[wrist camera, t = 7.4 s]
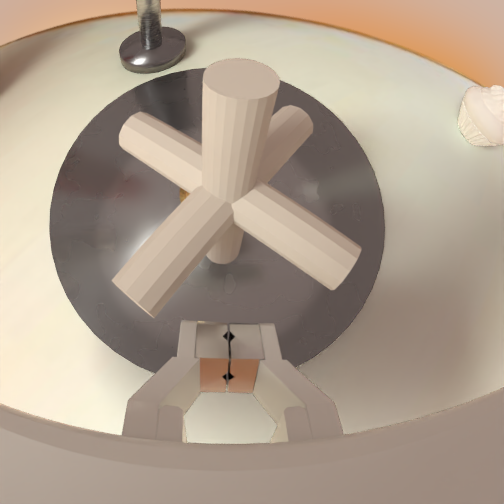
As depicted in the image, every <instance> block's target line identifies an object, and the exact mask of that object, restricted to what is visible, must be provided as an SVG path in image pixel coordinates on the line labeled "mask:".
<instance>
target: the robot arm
mask: <svg viewBox="0 0 504 504" xmlns="http://www.w3.org/2000/svg"><path fill="white" fill-rule="evenodd" d="M227 334H228V340H227ZM226 373H227V377H226ZM226 382H227V389H228V392H234V393H253V395H254V396H255V398H256V399H257V400H258V401H259V403H260V404H261V405H262V407H263V408H264V409H265V410H266V412H267V413H268V414H269V415H270V417H271V418H272V419H273V420H274V421H275V423H276V424H277V428H276V430H275V432H274V435H273V437H272V439H271V441H270V443H253V444H206V443H187V437H186V430H185V421H184V415H185V413H186V412H187V411H188V409H189V408H190V407H191V405H192V404H193V403H194V401H195V400H196V398H197V397H198V396H199V394H200V392H225V391H226ZM0 504H504V387H502V388H500V389H498V390H496V391H493V392H491V393H489V394H486V395H484V396H481V397H479V398H476V399H474V400H471V401H469V402H466V403H463V404H461V405H458V406H455V407H452V408H449V409H446V410H443V411H440V412H437V413H434V414H431V415H427V416H424V417H421V418H417V419H413V420H410V421H406V422H402V423H398V424H394V425H390V426H386V427H381V428H377V429H372V430H367V431H362V432H357V433H351V434H345V435H344V433H343V430H342V426H341V423H340V420H339V416H338V413H337V410H336V406H335V403H334V402H333V401H332V400H331V399H330V398H329V397H327V396H326V395H325V394H324V393H323V392H322V391H321V390H320V389H318V388H317V387H316V386H315V385H314V384H313V383H312V382H311V381H309V380H308V379H307V378H306V377H305V376H304V375H303V374H302V373H301V372H300V371H298V370H297V369H296V368H295V367H294V366H293V365H292V364H291V363H290V362H289V361H287V360H282V356H281V351H280V347H279V342H278V337H277V333H276V328H275V325H274V324H273V323H259V324H258V323H229V325H228V328H227V323H221V322H206V321H189V320H182V322H181V326H180V334H179V343H178V352H177V357H172V358H171V359H170V360H169V361H168V362H167V363H166V364H165V365H164V366H163V367H162V368H161V369H160V370H159V371H157V372H156V373H155V374H154V375H153V376H152V377H151V378H150V379H149V380H148V381H147V382H146V383H145V384H144V385H143V386H142V387H141V388H140V389H139V390H138V391H137V392H136V393H135V394H134V395H133V396H132V397H131V398H130V399H129V400H128V403H127V408H126V414H125V419H124V425H123V431H122V435H116V434H110V433H104V432H99V431H94V430H89V429H85V428H80V427H76V426H72V425H67V424H64V423H60V422H56V421H52V420H49V419H45V418H42V417H38V416H35V415H32V414H29V413H26V412H23V411H20V410H17V409H14V408H11V407H9V406H6V405H3V404H1V403H0Z"/></svg>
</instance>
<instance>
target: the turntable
mask: <svg viewBox="0 0 504 504" xmlns="http://www.w3.org/2000/svg"><path fill="white" fill-rule="evenodd" d="M205 70H206V68H202V69H191V70H186V71H180V72H175V73H171V74H168V75H165V76H161V77H158V78H155V79H153V80H150V81H148V82H146V83H143V84H141V85H139V86H137V87H135V88H133V89H131V90H130V91H128V92H126V93H124V94H123V95H121V96H120V97H118V98H117V99H116V100H114V101H113V102H112V103H110V104H109V105H107V106H106V107H105V108H104V109H103V110H102V111H101V112H100V113H99V114H98V115H96V116H95V117H94V118H93V119H92V120H91V122H90V123H89V124H88V125H87V126H86V127H85V129H84V130H83V131H82V132H81V133H80V135H79V136H78V138H77V139H76V141H75V142H74V144H73V145H72V147H71V148H70V150H69V152H68V154H67V156H66V158H65V160H64V162H63V164H62V166H61V169H60V171H59V174H58V177H57V180H56V184H55V187H54V191H53V196H52V202H51V208H50V230H49V231H50V241H51V250H52V255H53V259H54V263H55V267H56V270H57V274H58V277H59V279H60V281H61V284H62V286H63V288H64V291H65V293H66V295H67V297H68V299H69V300H70V302H71V304H72V305H73V307H74V308H75V310H76V312H77V313H78V315H79V316H80V318H81V319H82V320H83V321H84V322H85V323H86V325H87V326H88V327H89V328H90V329H91V330H92V332H93V333H94V334H95V335H96V336H97V337H98V338H99V339H101V340H102V341H103V342H104V343H105V344H106V345H108V346H109V347H110V348H111V349H112V350H114V351H115V352H116V353H118V354H119V355H121V356H123V357H124V358H126V359H127V360H129V361H131V362H132V363H134V364H136V365H137V366H140V367H142V368H144V369H146V370H149V371H151V372H154V373H156V372H157V371H159V370H160V369H161V368H162V367H163V366H164V365H165V364H166V363H167V362H168V361H169V360H170V359H171V358H172V357H177V352H178V343H179V334H180V326H181V322H182V320H189V321H206V322H221V323H227V328H228V325H229V323H258V324H259V323H273V324H274V325H275V328H276V333H277V337H278V342H279V347H280V351H281V356H282V360H287V361H289V362H290V363H291V364H292V365H293V366H294V367H297V366H298V365H300V364H302V363H304V362H306V361H308V360H309V359H311V358H313V357H314V356H316V355H317V354H318V353H320V352H321V351H322V350H324V349H325V348H326V347H328V346H329V345H330V344H331V343H333V342H334V341H335V340H336V339H337V338H338V337H339V336H340V335H341V333H342V332H343V331H344V330H345V329H346V328H347V327H348V326H349V325H350V324H351V322H352V321H353V320H354V318H355V317H356V315H357V314H358V313H359V311H360V310H361V308H362V307H363V305H364V303H365V301H366V299H367V297H368V296H369V294H370V292H371V290H372V288H373V285H374V282H375V279H376V276H377V274H378V271H379V267H380V263H381V258H382V253H383V247H384V232H385V224H384V210H383V204H382V199H381V194H380V189H379V186H378V183H377V180H376V177H375V174H374V171H373V169H372V167H371V165H370V163H369V161H368V159H367V157H366V155H365V153H364V151H363V150H362V148H361V147H360V145H359V143H358V142H357V140H356V139H355V137H354V136H353V135H352V134H351V132H350V131H349V130H348V129H347V127H346V126H345V125H344V124H343V123H342V122H341V121H340V120H339V119H338V118H337V117H336V116H335V115H334V114H333V113H332V112H331V111H330V110H329V109H327V108H326V107H325V106H324V105H322V104H321V103H320V102H318V101H317V100H316V99H314V98H313V97H311V96H310V95H308V94H306V93H305V92H303V91H301V90H300V89H298V88H296V87H294V86H292V85H290V84H287V83H285V82H283V81H280V85H279V89H278V93H277V97H276V101H275V105H274V109H273V113H272V116H273V115H274V114H275V113H276V112H278V111H279V110H280V109H281V108H282V107H285V106H289V105H292V106H295V107H299V108H301V109H302V110H303V111H304V112H306V113H307V114H308V115H309V117H310V119H311V121H312V123H313V133H312V134H311V135H310V136H309V137H308V138H307V139H306V140H305V142H304V143H303V144H302V145H301V146H300V147H299V148H298V149H297V150H296V152H295V153H294V154H293V155H292V156H291V157H290V158H289V159H288V160H287V162H286V163H285V164H284V165H283V166H282V167H281V168H280V169H279V171H278V172H277V173H276V174H275V175H274V176H273V177H272V178H271V180H270V181H269V182H268V183H267V184H269V185H271V186H272V187H274V188H275V189H277V190H278V191H280V192H281V193H283V194H285V195H286V196H288V197H289V198H291V199H292V200H294V201H295V202H297V203H298V204H300V205H301V206H303V207H304V208H306V209H307V210H309V211H310V212H312V213H313V214H315V215H316V216H318V217H319V218H321V219H322V220H323V221H325V222H326V223H328V224H329V225H331V226H332V227H334V228H335V229H336V230H338V231H339V232H341V233H342V234H344V235H345V236H346V237H348V238H349V239H351V240H352V241H353V242H355V243H356V244H358V245H359V246H360V247H361V253H360V255H359V257H358V259H357V261H356V263H355V264H354V266H353V268H352V269H351V271H350V272H349V274H348V275H347V276H346V278H345V279H344V280H343V281H342V283H341V284H340V285H339V286H338V287H337V288H336V289H335V290H332V291H331V290H330V289H328V288H327V287H326V286H324V285H323V284H321V283H320V282H318V281H317V280H316V279H314V278H313V277H311V276H310V275H308V274H307V273H305V272H304V271H303V270H301V269H300V268H298V267H297V266H295V265H294V264H292V263H291V262H290V261H288V260H287V259H285V258H284V257H282V256H281V255H279V254H278V253H276V252H275V251H274V250H272V249H271V248H269V247H268V246H266V245H265V244H263V243H262V242H260V241H259V240H258V239H256V238H255V237H253V236H252V235H250V234H249V233H247V232H246V231H244V234H243V238H242V243H241V247H240V251H239V254H238V256H237V258H236V259H234V260H233V261H232V262H230V263H227V264H218V263H214V262H213V261H211V260H210V259H209V258H208V257H207V256H206V255H205V257H204V258H203V259H202V260H201V262H200V263H199V264H198V265H197V266H196V268H195V269H194V270H193V271H192V272H191V274H190V275H189V276H188V277H187V278H186V280H185V281H184V282H183V283H182V285H181V286H180V287H179V288H178V289H177V291H176V292H175V293H174V294H173V296H172V297H171V298H170V299H169V301H168V302H167V303H166V304H165V306H164V307H163V308H162V309H161V310H160V312H159V313H158V314H157V315H156V317H155V318H153V317H152V316H150V315H149V314H148V313H147V312H145V311H144V310H143V309H142V308H141V307H139V306H138V305H137V304H136V303H135V302H134V301H132V300H131V299H130V298H129V297H128V296H127V295H126V294H125V293H124V292H122V291H121V290H120V289H119V288H118V287H117V286H116V285H115V284H114V283H113V282H112V279H113V278H114V277H115V276H116V275H117V273H118V272H119V271H120V270H121V269H122V268H123V266H124V265H125V264H126V263H127V262H128V261H129V259H130V258H131V257H132V256H133V255H134V254H135V253H136V251H137V250H138V249H139V248H140V247H141V246H142V245H143V244H144V242H145V241H146V240H147V239H148V238H149V237H150V236H151V235H152V234H153V233H154V231H155V230H156V229H157V228H158V227H159V226H160V225H161V224H162V223H163V222H164V221H165V220H166V218H167V217H168V216H169V215H170V214H171V213H172V212H173V211H174V210H175V209H176V208H177V207H178V206H179V205H180V204H181V203H182V202H183V201H184V200H185V199H186V198H187V197H188V196H189V194H190V193H188V192H187V191H185V190H184V189H182V188H181V187H179V186H178V185H176V184H175V183H173V182H172V181H170V180H169V179H167V178H166V177H164V176H163V175H161V174H160V173H158V172H157V171H155V170H154V169H152V168H151V167H149V166H148V165H146V164H145V163H143V162H142V161H140V160H139V159H137V158H136V157H134V156H133V155H131V154H130V153H128V152H127V151H125V150H124V149H123V148H122V147H121V146H120V145H119V133H120V131H121V129H122V126H123V124H124V123H125V122H126V121H127V120H128V119H129V118H130V116H132V115H134V114H136V113H138V112H144V113H148V114H150V115H151V116H153V117H155V118H157V119H159V120H161V121H163V122H164V123H166V124H168V125H170V126H172V127H173V128H175V129H177V130H179V131H181V132H182V133H184V134H186V135H188V136H189V137H191V138H193V139H195V140H196V141H198V142H200V143H202V94H203V73H204V71H205ZM227 340H228V334H227ZM226 377H227V373H226ZM226 385H227V382H226Z"/></svg>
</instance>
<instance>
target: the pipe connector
mask: <svg viewBox="0 0 504 504" xmlns="http://www.w3.org/2000/svg"><path fill="white" fill-rule="evenodd" d="M279 85H280V80H279V77H278V75H277V74H276V72H275V71H274V70H272V69H271V68H270V67H268V66H266V65H264V64H263V63H260V62H257V61H254V60H248V59H239V58H234V59H225V60H221V61H218V62H216V63H213V64H211V65H210V66H209V67H208V68H206V70H205V71H204V73H203V94H202V143H200V142H198V141H196V140H195V139H193V138H191V137H189V136H188V135H186V134H184V133H182V132H181V131H179V130H177V129H175V128H173V127H172V126H170V125H168V124H166V123H164V122H163V121H161V120H159V119H157V118H155V117H153V116H151V115H150V114H148V113H144V112H138V113H136V114H134V115H132V116H130V118H129V119H128V120H127V121H126V122H125V123H124V124H123V126H122V129H121V131H120V133H119V145H120V146H121V147H122V148H123V149H124V150H125V151H127V152H128V153H130V154H131V155H133V156H134V157H136V158H137V159H139V160H140V161H142V162H143V163H145V164H146V165H148V166H149V167H151V168H152V169H154V170H155V171H157V172H158V173H160V174H161V175H163V176H164V177H166V178H167V179H169V180H170V181H172V182H173V183H175V184H176V185H178V186H179V187H181V188H182V189H184V190H185V191H187V192H188V193H190V194H189V196H188V197H187V198H186V199H185V200H184V201H183V202H182V203H181V204H180V205H179V206H178V207H177V208H176V209H175V210H174V211H173V212H172V213H171V214H170V215H169V216H168V217H167V218H166V220H165V221H164V222H163V223H162V224H161V225H160V226H159V227H158V228H157V229H156V230H155V231H154V233H153V234H152V235H151V236H150V237H149V238H148V239H147V240H146V241H145V242H144V244H143V245H142V246H141V247H140V248H139V249H138V250H137V251H136V253H135V254H134V255H133V256H132V257H131V258H130V259H129V261H128V262H127V263H126V264H125V265H124V266H123V268H122V269H121V270H120V271H119V272H118V273H117V275H116V276H115V277H114V278H113V279H112V282H113V283H114V284H115V285H116V286H117V287H118V288H119V289H120V290H121V291H122V292H124V293H125V294H126V295H127V296H128V297H129V298H130V299H131V300H132V301H134V302H135V303H136V304H137V305H138V306H139V307H141V308H142V309H143V310H144V311H145V312H147V313H148V314H149V315H150V316H152V317H153V318H155V317H156V315H157V314H158V313H159V312H160V310H161V309H162V308H163V307H164V306H165V304H166V303H167V302H168V301H169V299H170V298H171V297H172V296H173V294H174V293H175V292H176V291H177V289H178V288H179V287H180V286H181V285H182V283H183V282H184V281H185V280H186V278H187V277H188V276H189V275H190V274H191V272H192V271H193V270H194V269H195V268H196V266H197V265H198V264H199V263H200V262H201V260H202V259H203V258H204V257H205V255H206V256H207V257H208V258H209V259H210V260H211V261H213V262H214V263H218V264H227V263H230V262H232V261H233V260H234V259H236V258H237V256H238V254H239V251H240V247H241V243H242V238H243V234H244V231H246V232H247V233H249V234H250V235H252V236H253V237H255V238H256V239H258V240H259V241H260V242H262V243H263V244H265V245H266V246H268V247H269V248H271V249H272V250H274V251H275V252H276V253H278V254H279V255H281V256H282V257H284V258H285V259H287V260H288V261H290V262H291V263H292V264H294V265H295V266H297V267H298V268H300V269H301V270H303V271H304V272H305V273H307V274H308V275H310V276H311V277H313V278H314V279H316V280H317V281H318V282H320V283H321V284H323V285H324V286H326V287H327V288H328V289H330V290H331V291H332V290H335V289H336V288H337V287H338V286H339V285H340V284H341V283H342V281H343V280H344V279H345V278H346V276H347V275H348V274H349V272H350V271H351V269H352V268H353V266H354V264H355V263H356V261H357V259H358V257H359V255H360V253H361V247H360V246H359V245H358V244H356V243H355V242H353V241H352V240H351V239H349V238H348V237H346V236H345V235H344V234H342V233H341V232H339V231H338V230H336V229H335V228H334V227H332V226H331V225H329V224H328V223H326V222H325V221H323V220H322V219H321V218H319V217H318V216H316V215H315V214H313V213H312V212H310V211H309V210H307V209H306V208H304V207H303V206H301V205H300V204H298V203H297V202H295V201H294V200H292V199H291V198H289V197H288V196H286V195H285V194H283V193H281V192H280V191H278V190H277V189H275V188H274V187H272V186H271V185H269V184H267V183H268V182H269V181H270V180H271V178H272V177H273V176H274V175H275V174H276V173H277V172H278V171H279V169H280V168H281V167H282V166H283V165H284V164H285V163H286V162H287V160H288V159H289V158H290V157H291V156H292V155H293V154H294V153H295V152H296V150H297V149H298V148H299V147H300V146H301V145H302V144H303V143H304V142H305V140H306V139H307V138H308V137H309V136H310V135H311V134H312V133H313V123H312V121H311V119H310V117H309V115H308V114H307V113H306V112H304V111H303V110H302V109H301V108H299V107H295V106H292V105H289V106H285V107H282V108H281V109H280V110H279V111H278V112H276V113H275V114H274V115H273V116H272V113H273V109H274V105H275V101H276V97H277V93H278V89H279Z"/></svg>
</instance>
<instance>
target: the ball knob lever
mask: <svg viewBox="0 0 504 504" xmlns="http://www.w3.org/2000/svg"><path fill="white" fill-rule="evenodd" d="M136 4H137V14H138V23H139V31H138V32H136V33H134V34H132V35H130V36H129V37H128V38H126V39H125V40H124V41H123V43H122V44H121V46H120V49H119V53H120V58H121V62H122V65H123V66H124V67H125V68H126V69H127V70H129V71H131V72H135V73H155V72H159V71H162V70H165V69H168V68H170V67H172V66H174V65H175V64H176V63H178V62H179V61H180V60H181V59H182V58H183V56H184V54H185V37H184V35H183V34H182V33H181V32H180V31H178V30H176V29H173V28H169V27H162V25H161V6H160V0H136Z"/></svg>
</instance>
